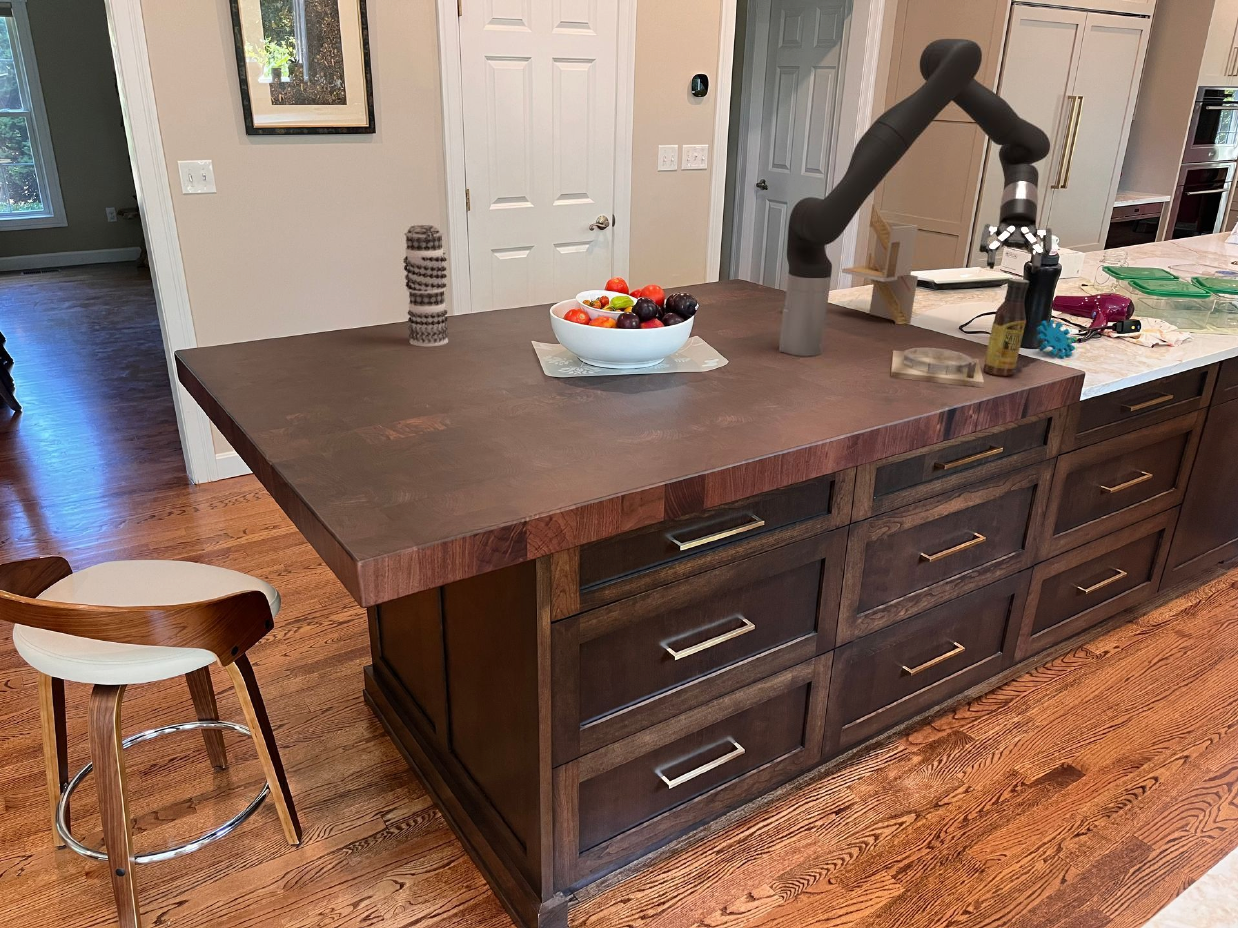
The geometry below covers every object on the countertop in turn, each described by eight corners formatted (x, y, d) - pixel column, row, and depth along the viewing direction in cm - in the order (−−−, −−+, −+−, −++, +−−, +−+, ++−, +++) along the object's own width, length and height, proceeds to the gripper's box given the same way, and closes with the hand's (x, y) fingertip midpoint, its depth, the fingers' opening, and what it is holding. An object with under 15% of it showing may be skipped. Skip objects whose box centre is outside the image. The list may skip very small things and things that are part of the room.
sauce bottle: (999, 378, 186) (1019, 283, 178) (976, 370, 191) (994, 278, 183) (1021, 375, 189) (1041, 281, 181) (997, 367, 194) (1016, 276, 186)
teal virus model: (1047, 353, 200) (1036, 315, 204) (1028, 366, 205) (1018, 328, 209) (1085, 358, 203) (1073, 320, 207) (1066, 370, 208) (1055, 333, 212)
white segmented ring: (902, 370, 184) (904, 356, 183) (903, 353, 197) (905, 340, 196) (973, 378, 181) (976, 364, 180) (970, 361, 193) (972, 347, 192)
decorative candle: (455, 337, 201) (450, 224, 192) (443, 348, 193) (438, 230, 183) (415, 335, 202) (409, 222, 192) (402, 345, 193) (395, 228, 184)
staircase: (885, 329, 224) (903, 211, 213) (836, 316, 236) (850, 204, 225) (910, 325, 230) (929, 210, 219) (860, 312, 242) (875, 202, 231)
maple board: (890, 377, 184) (891, 371, 183) (892, 355, 200) (893, 350, 199) (982, 387, 179) (983, 382, 179) (977, 364, 195) (978, 359, 195)
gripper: (987, 194, 195) (981, 255, 190) (1057, 199, 192) (1053, 261, 186) (981, 217, 202) (975, 276, 196) (1049, 221, 198) (1044, 281, 193)
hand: (1013, 268), depth 191 cm, fingers open, 8 cm apart
